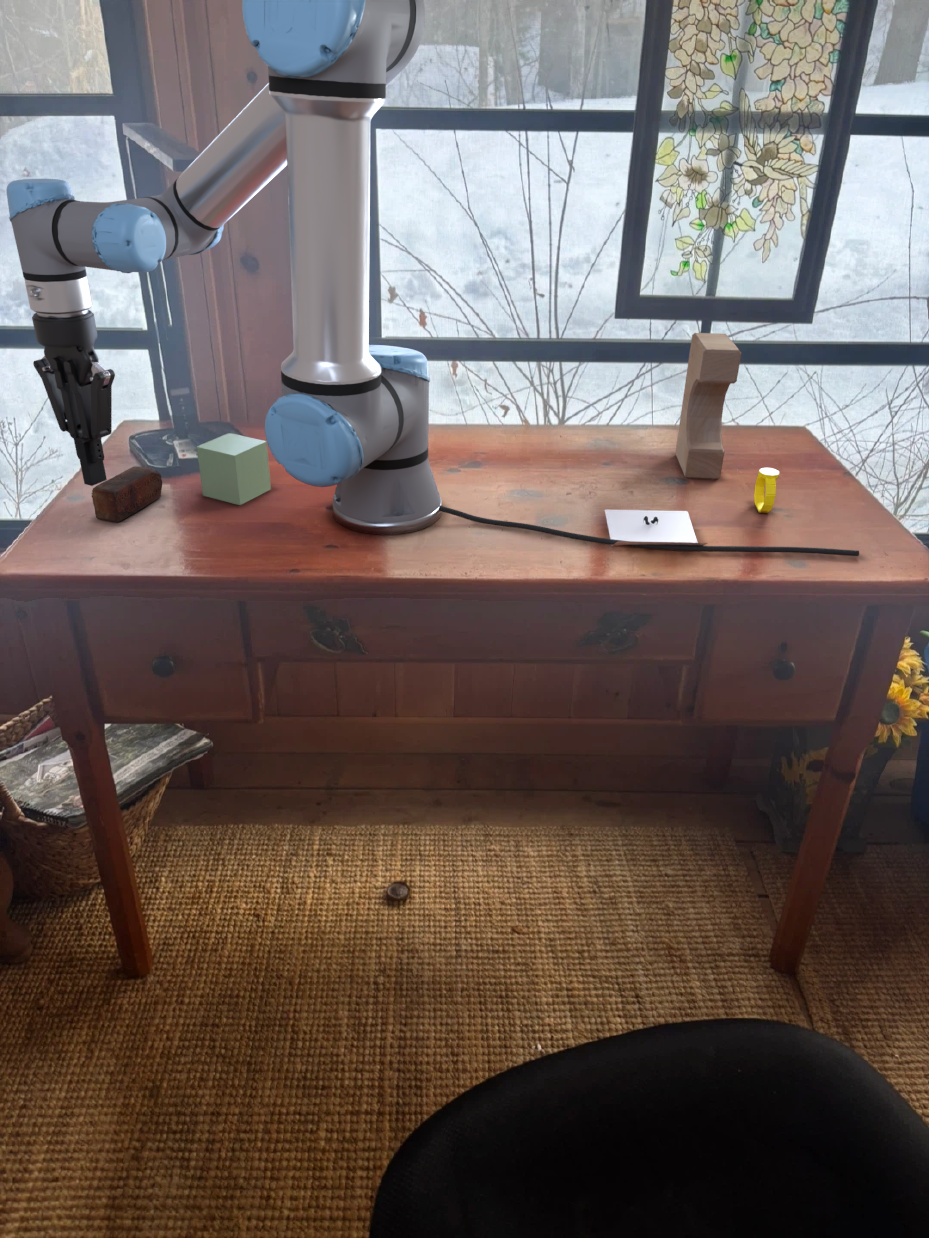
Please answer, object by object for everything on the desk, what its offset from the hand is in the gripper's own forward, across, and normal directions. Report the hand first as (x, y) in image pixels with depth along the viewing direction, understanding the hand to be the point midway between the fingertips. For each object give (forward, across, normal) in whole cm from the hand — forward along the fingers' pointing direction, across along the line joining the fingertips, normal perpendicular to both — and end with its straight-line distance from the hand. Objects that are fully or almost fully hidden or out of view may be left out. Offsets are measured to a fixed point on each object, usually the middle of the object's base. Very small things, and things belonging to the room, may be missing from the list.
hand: (95, 481), depth 130 cm
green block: (+3, +15, +12) cm, 20 cm away
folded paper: (+3, +73, +29) cm, 79 cm away
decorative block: (+3, +71, +58) cm, 92 cm away
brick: (+3, +6, 0) cm, 7 cm away
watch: (+3, +84, +46) cm, 96 cm away
